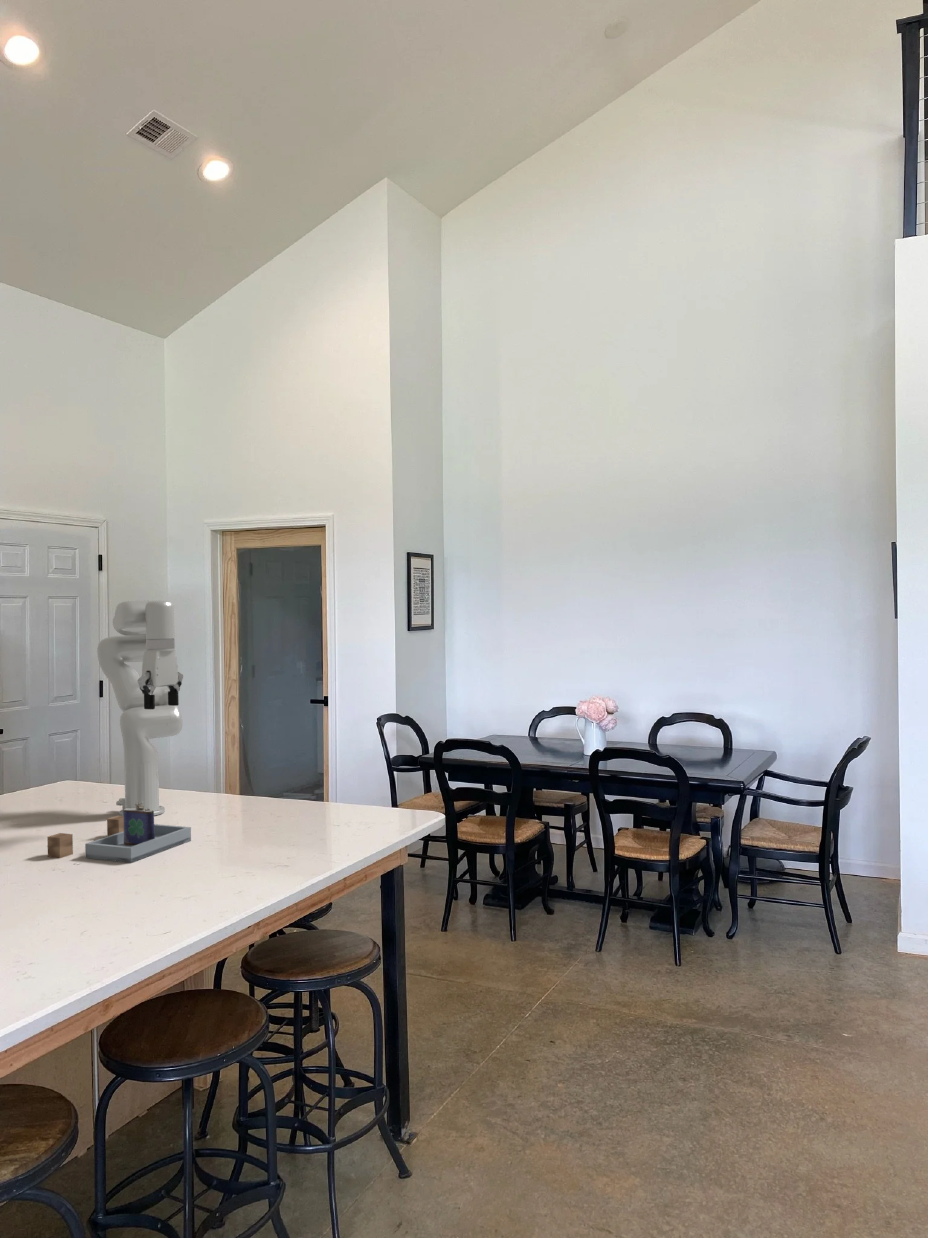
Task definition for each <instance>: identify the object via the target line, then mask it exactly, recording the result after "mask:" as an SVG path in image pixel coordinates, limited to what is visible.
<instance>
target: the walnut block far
mask: <svg viewBox="0 0 928 1238" xmlns="http://www.w3.org/2000/svg"><path fill="white" fill-rule="evenodd" d="M106 826H107V827H106V831H107V832H106V833H107V835H106V837H107V836H111V835H114V834H117V833H120V832H123V831H124V818H123V816H120V815H115V816H112V817H108V818H106Z"/></svg>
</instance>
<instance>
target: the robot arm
mask: <svg viewBox="0 0 928 1238" xmlns="http://www.w3.org/2000/svg"><path fill="white" fill-rule="evenodd" d="M115 607H116V608H115V612H114V615H113V619H112V626H113V629H114V630H115V631H116V632H117V633H118V634H120V635H112V636H111V635H110V636H107V637H104V638H103V639H102V640H101V639H100V641H99V643H98V644H97V651H96V653H97V660H98V663H99V666H100V668H101V672H102V673H103V674H104V676H105V677H106V679H108V681H109V682H110V684H111V686H112V689H113V690H112V691H113V693H114V695H115V698H116V701H117V704H118V707H119V709H120V710H121V711H122V713H121V715H120V718H119V726H120V732H121V738H122V745H123V765H124V766H123V767H124V769H123V770H124V773H123V774H124V797H120V798H118V800H116V802H115V804H116V806H120V807H121V806H122V809H121V810H119V816H123V810H124V809H126V808H135V809H136V805H135V804H137V803H141V802H143V803H142V805H141V806H144V807H145V809H147V808H149V809H150V810H153V811H154V817H155V816H159V815H161V814H164V812H165V810H166V809H165V806H162V805H160V789H159V788H160V785H159V781H160V780H159V779H160V778H159V776H160V775H159V754H158V753H159V752H158V751H157V749H156V747H154V745H153V744H152V743H151V742H150V740H151V739H156V738H158V739H159V738H169V737H174V736H175V737H176V736H177V735H178V734H180V732H181V730H182V728H183V718H182V713H181V710H180V708H179V704H180V703H179V699H180V698H179V692H180V690H181V686H182V682H183V679H184V674H182V673H181V672H180V671H179V669H178V667H179V666H178V659H177V653H176V650H175V647H176V646H175V607H174V603H173V602H171V601H170V600H126V601H122V602H119V603H118V604H117V605H116V606H115ZM140 662H141V663H142V666H141V667H142V668H141V676H140V674H139V673H138V671H137V670H136V669H135V668H134V667H132V666H130V665H128V663H140Z"/></svg>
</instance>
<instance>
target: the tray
mask: <svg viewBox="0 0 928 1238" xmlns="http://www.w3.org/2000/svg"><path fill="white" fill-rule="evenodd" d="M154 832H155V839H152V840H149V841H146V842H143V843H140V844H138V845H135V846H132V845H125V844H124V831H123V832H120V833H117V834H114V835H111V836H107V835H106V836H105V837H102V838H99V839H96V840H93V841H90V842H86V843H85V847H84V851H85V852H84V853H85V859H92V860H101V861H109V862H118V863H119V862H120V863H128V864H132V863H135V862H139V861H140V860H143V859H146V858H148V857H151V856H154V855H156V854H159V853H162V852H165V851H167V850H170V849H173V848H176V847H178V846H181V845H183V844H186V843H189V842H191V841H192V827H191V826H181V825H180V826H179V825H170V824H158V823H154Z"/></svg>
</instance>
